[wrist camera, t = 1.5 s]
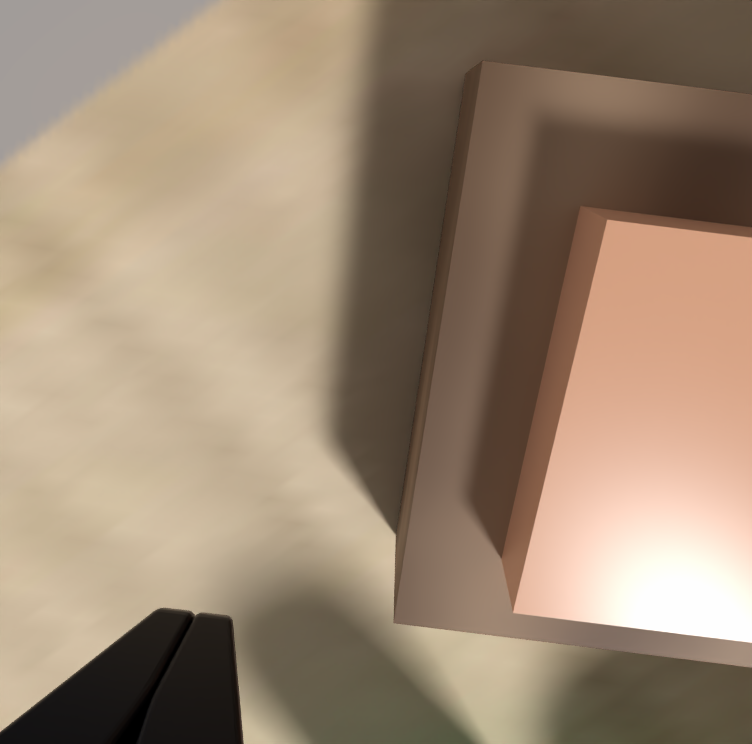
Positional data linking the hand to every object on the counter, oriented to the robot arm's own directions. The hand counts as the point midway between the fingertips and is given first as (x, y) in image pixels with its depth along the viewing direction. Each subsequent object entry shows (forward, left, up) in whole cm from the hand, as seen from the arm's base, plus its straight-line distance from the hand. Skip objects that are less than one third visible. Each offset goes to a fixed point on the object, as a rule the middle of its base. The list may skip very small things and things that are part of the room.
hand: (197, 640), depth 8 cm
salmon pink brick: (-8, 0, -8) cm, 12 cm away
